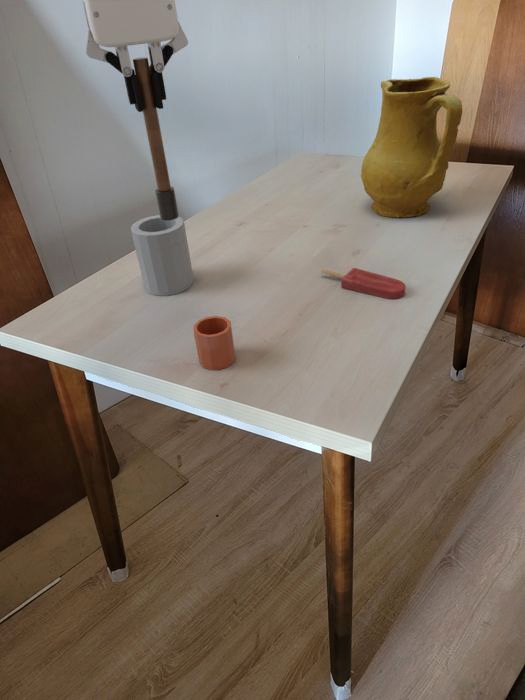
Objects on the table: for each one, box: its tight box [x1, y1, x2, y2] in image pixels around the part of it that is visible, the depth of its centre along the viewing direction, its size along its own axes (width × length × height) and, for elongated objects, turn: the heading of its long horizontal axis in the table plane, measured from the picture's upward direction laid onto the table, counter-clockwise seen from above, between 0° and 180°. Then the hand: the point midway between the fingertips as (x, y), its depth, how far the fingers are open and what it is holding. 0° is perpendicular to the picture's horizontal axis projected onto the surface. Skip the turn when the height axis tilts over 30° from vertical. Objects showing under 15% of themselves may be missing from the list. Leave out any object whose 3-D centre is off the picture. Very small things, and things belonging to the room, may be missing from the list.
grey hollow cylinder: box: [130, 214, 194, 297], centre depth 89 cm, size 9×9×11 cm
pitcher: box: [360, 76, 463, 219], centre depth 105 cm, size 17×19×25 cm
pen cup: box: [192, 315, 236, 371], centre depth 71 cm, size 5×5×6 cm
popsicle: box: [320, 267, 406, 300], centre depth 86 cm, size 4×2×15 cm
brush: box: [132, 57, 180, 221], centre depth 69 cm, size 3×3×20 cm
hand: (149, 107), depth 66 cm, fingers closed on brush
